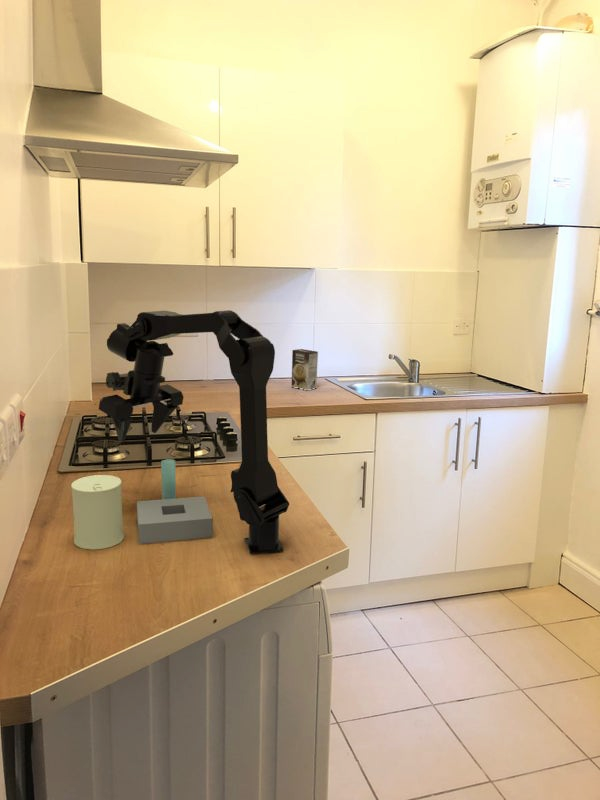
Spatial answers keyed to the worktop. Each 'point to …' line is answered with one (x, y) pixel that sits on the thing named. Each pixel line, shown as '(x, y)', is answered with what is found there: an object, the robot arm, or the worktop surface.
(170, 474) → the peg
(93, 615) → the worktop surface
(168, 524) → the hole block
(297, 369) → the coffee box
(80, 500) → the can
